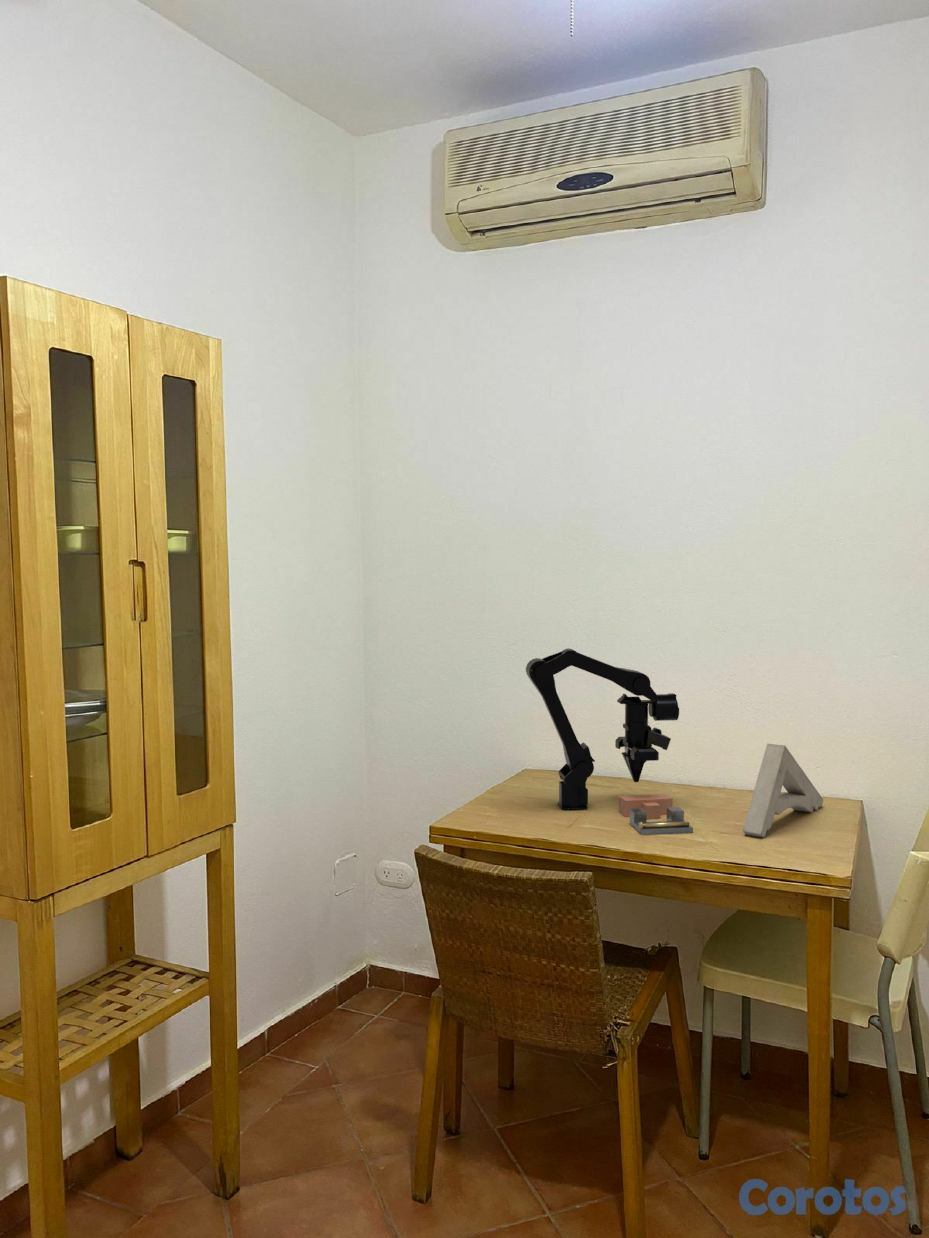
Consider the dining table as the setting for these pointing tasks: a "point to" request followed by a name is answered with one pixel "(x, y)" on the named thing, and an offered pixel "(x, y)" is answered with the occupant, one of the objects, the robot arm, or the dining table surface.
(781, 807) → the grey letter a
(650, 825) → the hinge pin
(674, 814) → the fixed leaf
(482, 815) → the dining table surface
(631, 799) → the pink tabbed slab
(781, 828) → the dining table surface
